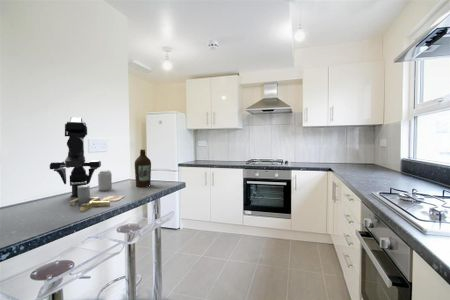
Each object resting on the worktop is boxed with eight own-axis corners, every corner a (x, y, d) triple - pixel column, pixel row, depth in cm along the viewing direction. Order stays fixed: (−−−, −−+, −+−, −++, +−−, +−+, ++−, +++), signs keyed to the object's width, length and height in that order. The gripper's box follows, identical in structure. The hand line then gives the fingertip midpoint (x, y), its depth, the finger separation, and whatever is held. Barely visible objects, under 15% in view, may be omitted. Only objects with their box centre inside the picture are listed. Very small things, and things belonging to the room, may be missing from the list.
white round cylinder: (75, 205, 107) (75, 187, 106) (81, 202, 112) (81, 185, 111) (86, 205, 107) (86, 187, 107) (92, 202, 112) (91, 184, 112)
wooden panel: (99, 201, 114) (99, 200, 114) (107, 196, 123) (107, 196, 123) (117, 201, 115) (117, 200, 115) (124, 196, 124) (124, 195, 124)
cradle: (70, 205, 107) (69, 201, 107) (78, 201, 115) (78, 197, 115) (93, 204, 108) (93, 200, 108) (101, 200, 116) (101, 196, 115)
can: (96, 191, 137) (96, 171, 136) (100, 188, 144) (99, 170, 143) (110, 190, 139) (109, 171, 138) (113, 188, 146) (112, 169, 145)
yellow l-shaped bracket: (79, 211, 98) (79, 205, 98) (89, 205, 107) (89, 199, 107) (101, 210, 99) (101, 204, 99) (109, 205, 108) (109, 199, 108)
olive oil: (133, 185, 154) (133, 149, 152) (149, 183, 159) (148, 149, 158) (136, 188, 145) (135, 150, 143) (153, 186, 150) (152, 149, 149)
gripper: (43, 150, 90) (45, 189, 90) (96, 150, 96) (97, 185, 97) (53, 149, 100) (55, 183, 101) (100, 148, 107) (101, 180, 107)
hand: (77, 183), depth 101 cm, fingers open, 9 cm apart
